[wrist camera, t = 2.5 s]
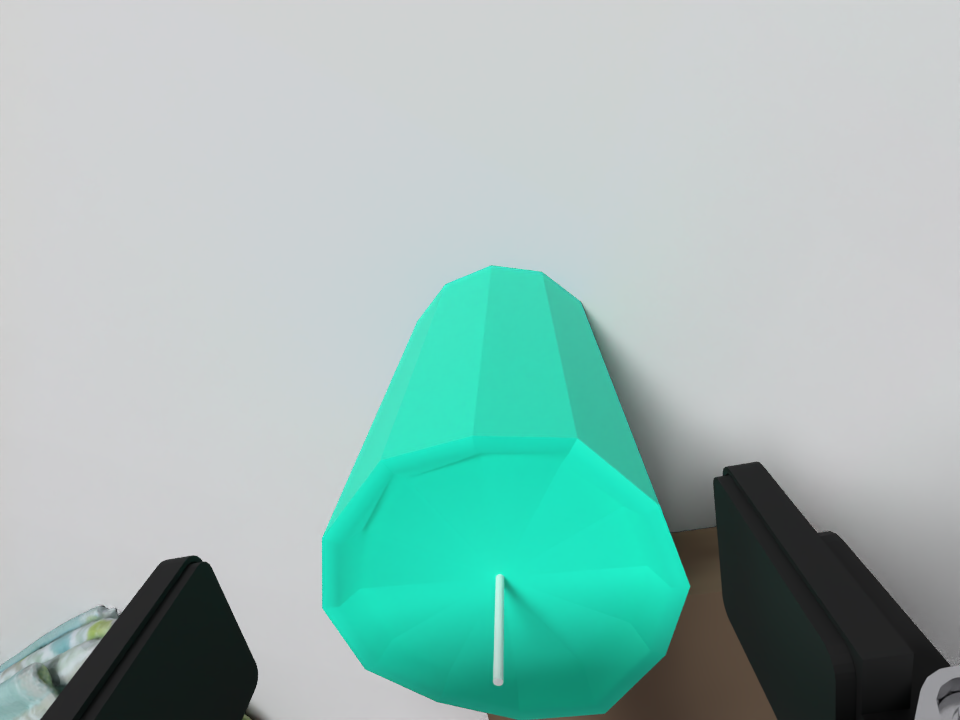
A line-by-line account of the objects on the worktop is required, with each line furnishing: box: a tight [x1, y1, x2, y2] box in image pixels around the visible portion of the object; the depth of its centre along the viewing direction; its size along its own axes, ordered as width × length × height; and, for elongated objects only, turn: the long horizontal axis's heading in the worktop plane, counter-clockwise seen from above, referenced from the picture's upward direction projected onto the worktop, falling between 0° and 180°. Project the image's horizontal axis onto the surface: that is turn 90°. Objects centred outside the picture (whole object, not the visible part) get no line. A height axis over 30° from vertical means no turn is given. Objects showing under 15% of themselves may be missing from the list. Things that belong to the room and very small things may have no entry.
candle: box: [322, 265, 690, 720], centre depth 14 cm, size 6×6×12 cm
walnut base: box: [487, 527, 777, 720], centre depth 23 cm, size 12×12×3 cm
